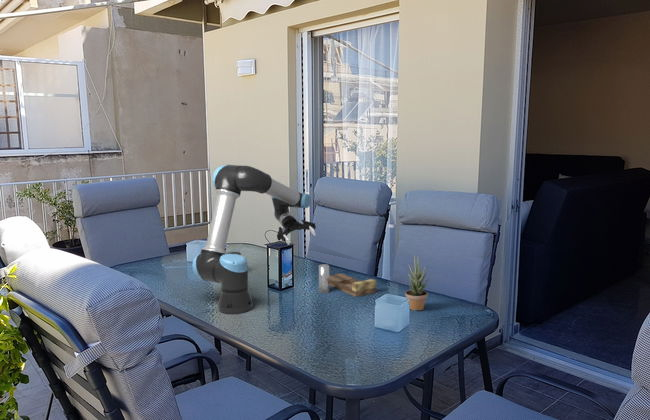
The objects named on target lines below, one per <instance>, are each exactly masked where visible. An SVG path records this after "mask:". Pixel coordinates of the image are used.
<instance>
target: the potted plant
mask: <svg viewBox="0 0 650 420" xmlns="http://www.w3.org/2000/svg"><path fill="white" fill-rule="evenodd" d="M413 258H414V260H413V261H414V264H413V265H414V270H413V269H412V267H411V265H410V263H408V267H409V269H410V271H408V274H407V277H408V279H409V281H410V282H409V281H408V283H407V284H408V285H409V286H408V287H409V290H407V291H405V293H404V295H405V296H404V297H405V298H406V299H407V298H408V299H409V304H410V309H412V310H422V309H423V310H424V309H425V304H426V302H427V298H428V297H429V296H428V293H429V292H427V291H425V290H424V289H425V288H426V286H427V283H428V282H429V279H430V277H428V278H427V279H426V276H427V273H425V271H426V265H425V266H424V267H423V269H422V271H420V270H421V268H420V267H421V265H420V261H419V260H420V257H419V255H417V257H416V254H414V257H413ZM416 259H417V260H416ZM420 272H421V273H420ZM424 279H426V281H425V280H424ZM409 304H408V305H409ZM410 309H409V310H410ZM412 310H411V311H412ZM423 310H422V311H423Z"/></svg>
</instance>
